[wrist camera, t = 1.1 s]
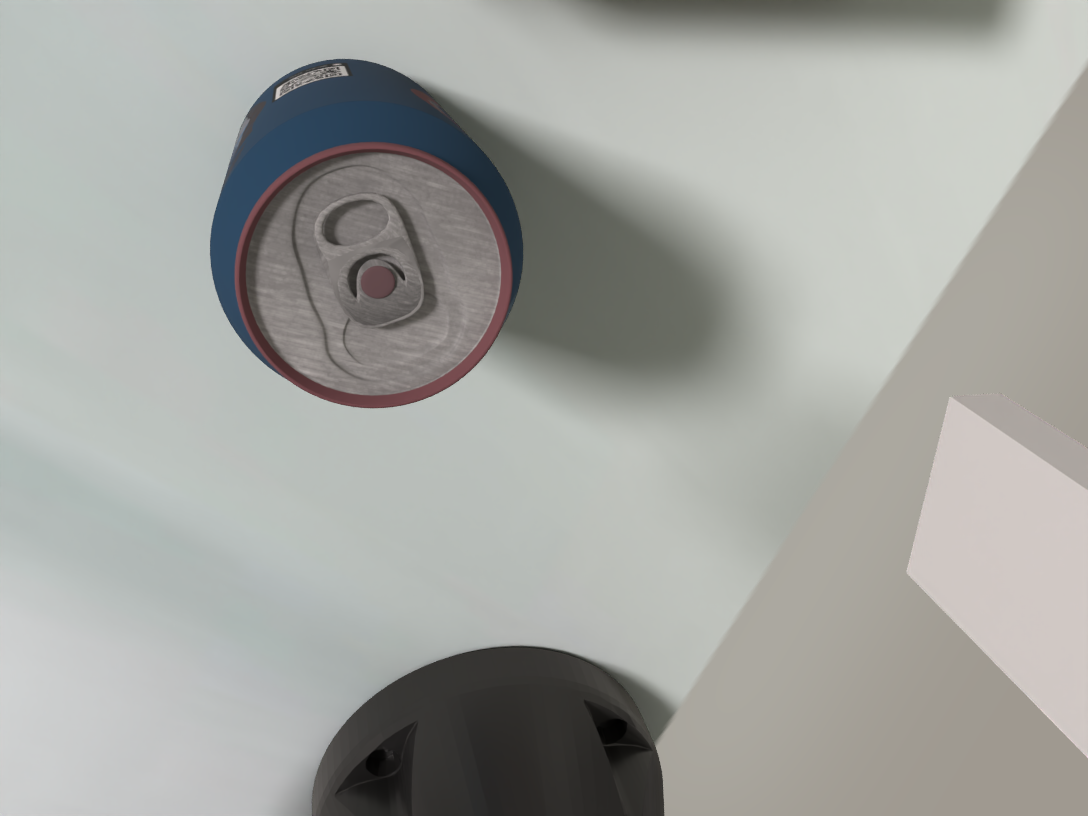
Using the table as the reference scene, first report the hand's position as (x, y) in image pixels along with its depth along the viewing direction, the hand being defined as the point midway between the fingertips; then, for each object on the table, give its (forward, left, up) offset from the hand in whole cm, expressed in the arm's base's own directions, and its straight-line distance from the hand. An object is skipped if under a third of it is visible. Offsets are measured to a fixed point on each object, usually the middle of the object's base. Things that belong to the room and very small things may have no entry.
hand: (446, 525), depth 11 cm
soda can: (0, 0, -22) cm, 22 cm away
